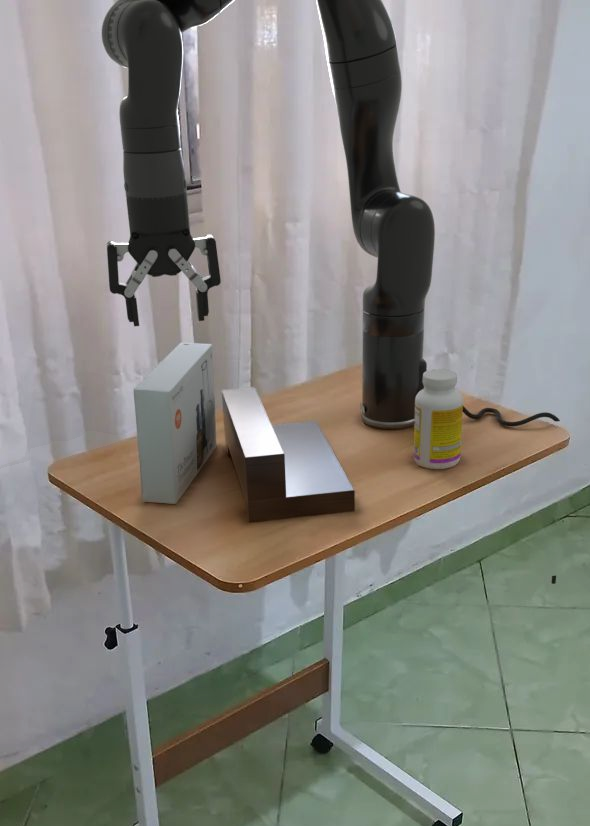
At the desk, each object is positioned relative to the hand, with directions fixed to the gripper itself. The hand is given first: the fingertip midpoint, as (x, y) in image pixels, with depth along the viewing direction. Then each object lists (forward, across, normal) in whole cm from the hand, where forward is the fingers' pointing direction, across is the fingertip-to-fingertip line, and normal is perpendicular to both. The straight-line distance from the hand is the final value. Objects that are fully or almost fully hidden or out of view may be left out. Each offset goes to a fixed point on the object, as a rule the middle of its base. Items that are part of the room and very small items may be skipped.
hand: (168, 322), depth 135 cm
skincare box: (+22, 0, 0) cm, 22 cm away
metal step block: (+21, -14, +5) cm, 26 cm away
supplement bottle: (+22, -36, +5) cm, 42 cm away
